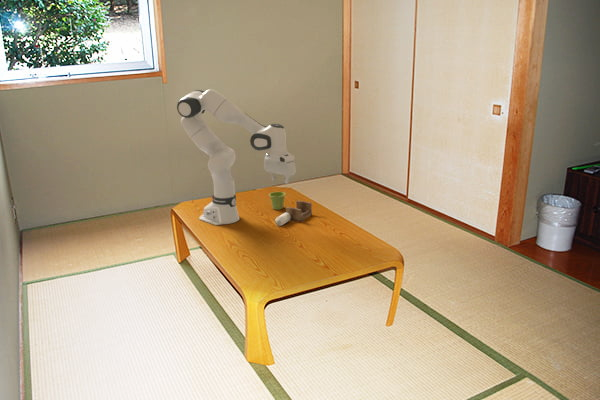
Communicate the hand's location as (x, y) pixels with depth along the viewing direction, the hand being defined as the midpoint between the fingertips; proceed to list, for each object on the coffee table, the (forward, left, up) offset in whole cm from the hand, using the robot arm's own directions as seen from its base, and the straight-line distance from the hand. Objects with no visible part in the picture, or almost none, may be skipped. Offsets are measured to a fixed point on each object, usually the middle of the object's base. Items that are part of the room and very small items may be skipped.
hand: (280, 181), depth 275 cm
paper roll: (0, +2, -24) cm, 24 cm away
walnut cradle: (+3, +14, -24) cm, 28 cm away
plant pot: (-15, +21, -24) cm, 36 cm away
